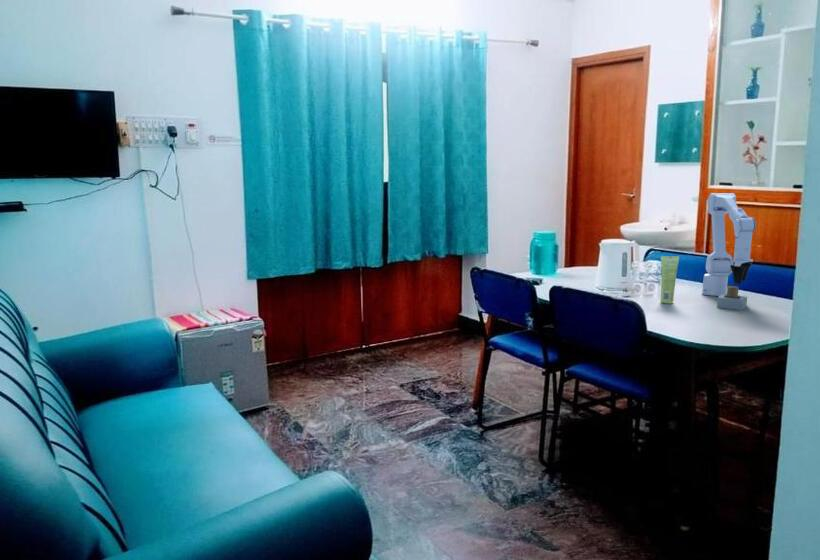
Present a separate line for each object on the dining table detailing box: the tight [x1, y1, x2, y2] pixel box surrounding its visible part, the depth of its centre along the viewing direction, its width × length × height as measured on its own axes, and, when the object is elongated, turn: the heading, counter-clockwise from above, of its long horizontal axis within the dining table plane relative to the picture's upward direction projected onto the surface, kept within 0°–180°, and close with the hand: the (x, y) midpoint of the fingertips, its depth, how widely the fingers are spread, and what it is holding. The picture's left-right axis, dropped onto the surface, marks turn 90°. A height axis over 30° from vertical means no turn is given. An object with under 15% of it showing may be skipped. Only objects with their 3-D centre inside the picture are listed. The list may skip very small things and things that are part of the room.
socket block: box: [716, 294, 748, 311], centre depth 254 cm, size 9×9×4 cm
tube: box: [659, 255, 680, 305], centre depth 261 cm, size 6×5×20 cm
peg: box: [726, 285, 739, 299], centre depth 253 cm, size 4×4×8 cm
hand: (739, 281), depth 254 cm, fingers open, 7 cm apart
